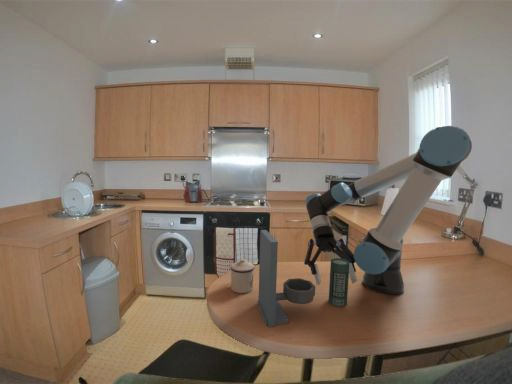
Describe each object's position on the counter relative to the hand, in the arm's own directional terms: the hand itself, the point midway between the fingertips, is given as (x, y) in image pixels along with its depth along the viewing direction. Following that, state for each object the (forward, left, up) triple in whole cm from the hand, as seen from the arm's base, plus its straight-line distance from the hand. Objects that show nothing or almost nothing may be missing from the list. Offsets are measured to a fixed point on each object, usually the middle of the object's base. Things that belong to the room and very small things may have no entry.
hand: (337, 282), depth 93 cm
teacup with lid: (+31, -18, -8) cm, 37 cm away
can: (-1, -1, -8) cm, 8 cm away
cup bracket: (+19, +2, -7) cm, 21 cm away
